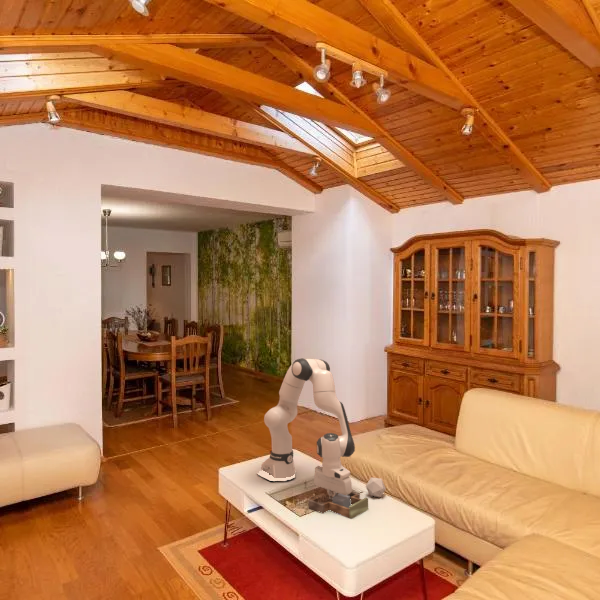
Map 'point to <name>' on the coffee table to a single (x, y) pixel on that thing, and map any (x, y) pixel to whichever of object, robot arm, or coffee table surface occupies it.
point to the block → (341, 500)
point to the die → (375, 487)
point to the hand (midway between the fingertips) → (332, 499)
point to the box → (351, 512)
